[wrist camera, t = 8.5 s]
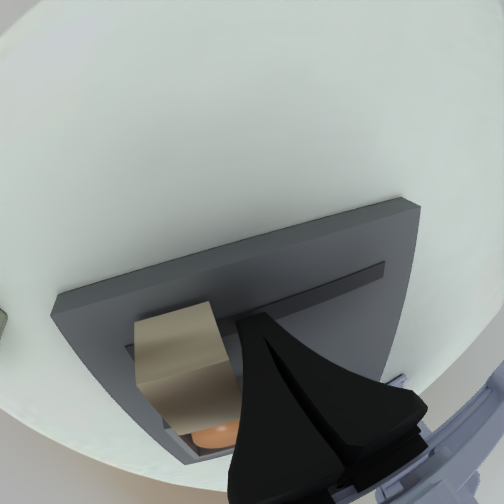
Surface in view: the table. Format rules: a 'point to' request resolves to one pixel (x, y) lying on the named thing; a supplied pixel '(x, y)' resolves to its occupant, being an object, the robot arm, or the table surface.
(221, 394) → the birch slider
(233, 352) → the control panel
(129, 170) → the table surface
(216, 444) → the push button
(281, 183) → the table surface
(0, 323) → the skincare box
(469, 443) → the robot arm
